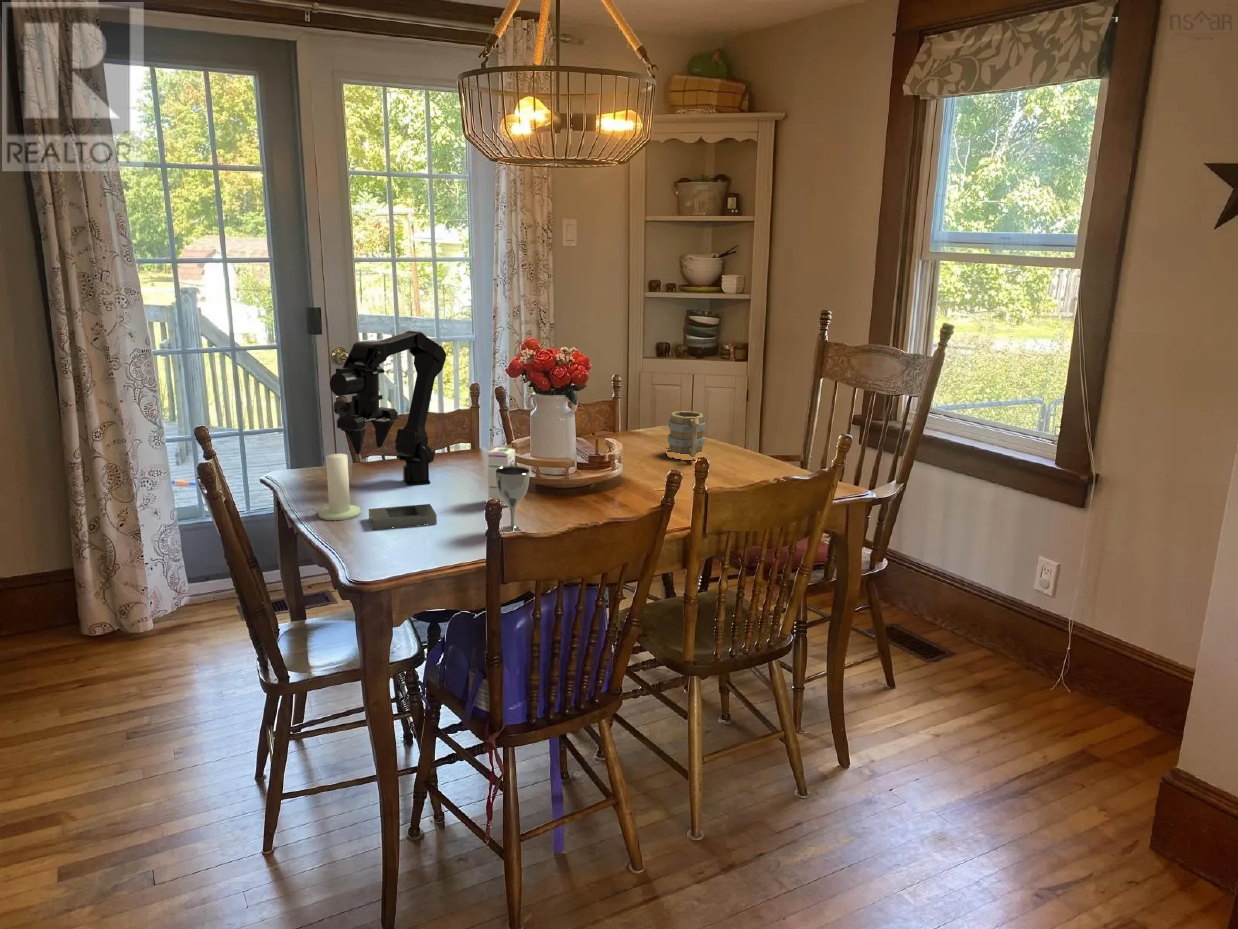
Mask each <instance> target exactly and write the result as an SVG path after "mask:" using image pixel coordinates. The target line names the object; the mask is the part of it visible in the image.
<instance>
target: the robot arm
mask: <svg viewBox="0 0 1238 929" xmlns="http://www.w3.org/2000/svg"><path fill="white" fill-rule="evenodd" d="M405 351H408V353H409V354H411V355H412V357H413V366H414V369H415V372H416V379H415V383H414V388H413V392H412V398H411V401H410V407H409V412H408V416H407V417H408V418H407V422H406V424H405V426H404V427H403V428H398V429H397V431H396V438H395V441H394V443H395V448H394V449H395V451H396V453H397V456H398V459H399V461H404V465H402V480H403V481H404V482H405V484H406V486H413V485H416V486H417V485H428V484H431V480H430V468H429V467H430V466H429V464H431V462H434V460H435V456H436V455H435V452H433V450H432V449H431V448H430V447H429V446H428V444H429V436H428V434H427V431H426V429H425V428H426V423H427V417H428V413H429V407H430V403H431V398H432V394H433V389H434V385H435V379H436V377H437V376H438V375H439V374H440V373H441V372H442V371H443V368H444V366H445V363H446V359H447V353H446V351H445V349H444V346H441V345H439V344H438V342H435V341H434V340H432V339H430V338H429V337H427V336H426V334H424V333H423V332H421V331H417V330H415V331H414V330H407V331H405V332H404V333H401V334H400V333H399V334H397V335H394V336H391V337H388V338H384V339H381V340H377V341H375V340H374V341H373V340H372V341H369V340H368V341H356V342H354V343H353V345H352V348H351V350H350V352H349V353H348V355H347V357H346V358H345V359H346V360H345V362H344V364H343V365H342V367H341V368H340V367H336V368H335V373H333V375H332V376H331V377H330V380H329V387H330V390H331V392H332V393H333V395H335V396H337V397H342V396H343V397H344V396H347V395H352V396H351V400H350V401H349V402H344V400H337V401H335V402H333V412H334V413H335V415H338V416H339V417H338V418H337V419H336V428H337V429H340V431H343V432H344V433H345V434H347V435H348V438H349V440H350V442H351V445H352V448H353V450H354V453H355V454H356V455H360V454H361V452H362V449H363V443H364V440H365V436H366V428H365V426H366V423H368V422H371V424H372V425H373V426H374V433H375V434H374V435H375V444H376V447H377V448H378V449H379V448H382V446H383V444H384V442H385V441H386V439H387V436H388V434H389V432H390V431H391V428H392V426H393V425H394V424H395V422H396V421H397V420H398V417H399V416H398V413H399V412H398V411H397V410H396V409H395V408H391V407H384V406H381V407H380V401H381V400H383V397H384V396H383V395H382V394H380V378H379V376H380V374H384V373H385V370H384V368H383V367H381V366H380V365H381V364H383V363H384V362H386V361H387V359H388V357H390V356H393V355H396V354H398V353H401V352H405Z"/></svg>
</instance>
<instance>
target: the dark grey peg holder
mask: <svg viewBox="0 0 1238 929" xmlns="http://www.w3.org/2000/svg"><path fill="white" fill-rule="evenodd" d="M437 518H438V516H437V513H436V511H435V510H434V508H433V507H432V505H431V504H430V503H425V504H416V505H415V504H413V505H411V504H410V505H403V506H389V507H379V508H378V507H377V508H368V520H369V522H370V525H371V527H373V528H372V530H373V531H376V530H375V529H380V530H386V529H385V528H391V529H393V528H392V527H402V528H409V527H408V526H413V527H418V526H417V525H424V524H425V525H424V526H427V525H426V524H435V525H438V523H437V522H438V521H437V520H438V519H437Z"/></svg>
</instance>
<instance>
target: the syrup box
mask: <svg viewBox="0 0 1238 929" xmlns="http://www.w3.org/2000/svg"><path fill="white" fill-rule="evenodd" d="M505 466H516V449H515V448H511V447H510V448H509V447H494V448H493V449H491V450H490V451H488V452H487V478H488V479H487V480H488V481H487V483H488V484H487V486H488V487H487V488H488V490H487V491H488V500H489V499H490V498H496V499H499V500H501V502H502V504H503V506H502V507H505V506H507V505H508V504H507V502H506V501H505V500H504V499H503V498H502V497H501V496H500V494H499V492H498V489H497V484H496V469H498V468H500V467H505ZM504 504H505V506H504Z"/></svg>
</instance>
